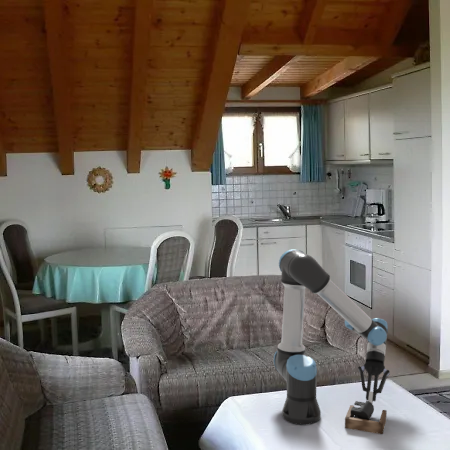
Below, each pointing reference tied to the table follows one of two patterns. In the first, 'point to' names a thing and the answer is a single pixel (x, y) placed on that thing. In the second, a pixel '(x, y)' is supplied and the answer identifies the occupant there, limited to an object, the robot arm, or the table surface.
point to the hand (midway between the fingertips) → (369, 408)
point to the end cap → (363, 410)
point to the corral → (365, 423)
